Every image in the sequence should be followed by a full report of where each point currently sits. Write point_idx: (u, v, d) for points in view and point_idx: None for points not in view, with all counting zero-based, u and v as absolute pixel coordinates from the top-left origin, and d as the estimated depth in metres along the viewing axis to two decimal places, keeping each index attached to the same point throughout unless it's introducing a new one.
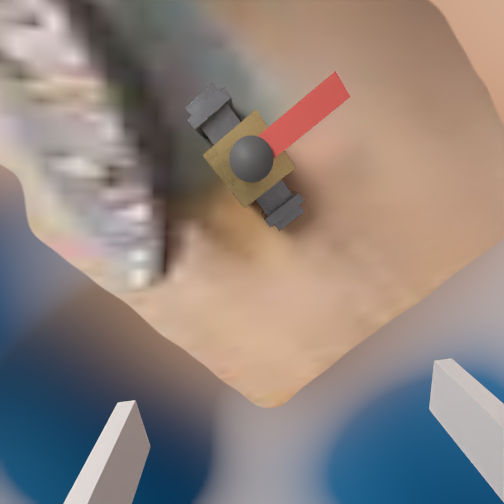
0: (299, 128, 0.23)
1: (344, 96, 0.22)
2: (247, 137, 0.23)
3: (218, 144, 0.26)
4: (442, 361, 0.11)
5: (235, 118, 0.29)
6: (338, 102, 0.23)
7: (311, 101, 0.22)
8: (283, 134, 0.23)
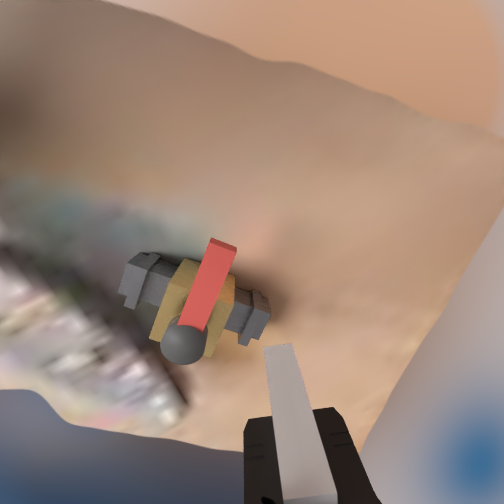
0: (207, 299, 0.23)
1: (231, 255, 0.21)
2: (168, 333, 0.23)
3: (156, 324, 0.27)
4: (283, 345, 0.13)
5: (163, 277, 0.30)
6: (228, 263, 0.22)
7: (204, 275, 0.22)
8: (197, 311, 0.23)
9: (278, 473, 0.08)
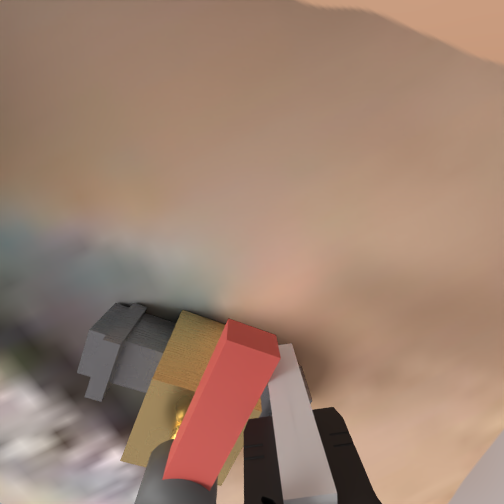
0: (221, 438, 0.12)
1: (270, 363, 0.11)
2: (145, 497, 0.12)
3: (131, 440, 0.16)
4: (283, 345, 0.13)
5: (147, 350, 0.19)
6: (264, 377, 0.11)
7: (215, 398, 0.11)
8: (201, 458, 0.12)
9: (278, 473, 0.08)
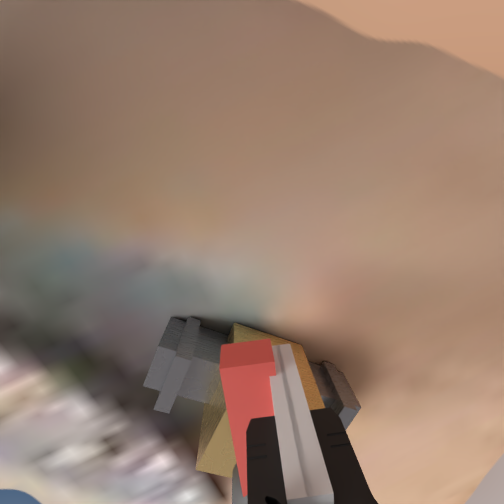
0: None
1: (268, 369, 0.11)
2: None
3: (208, 451, 0.17)
4: (281, 345, 0.13)
5: (211, 364, 0.20)
6: None
7: (242, 417, 0.12)
8: None
9: (281, 472, 0.08)
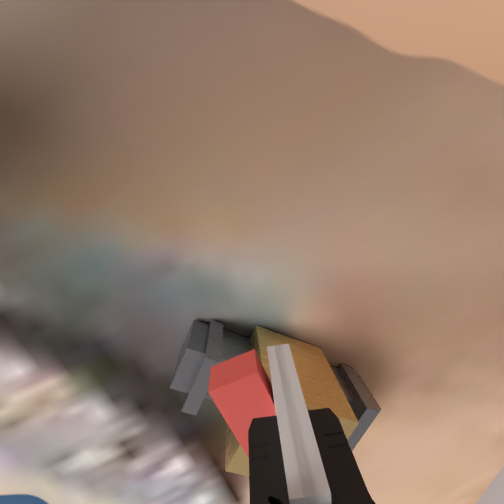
0: None
1: (254, 381, 0.12)
2: None
3: (239, 452, 0.18)
4: (280, 346, 0.13)
5: None
6: (261, 392, 0.12)
7: (246, 430, 0.12)
8: None
9: (283, 472, 0.08)
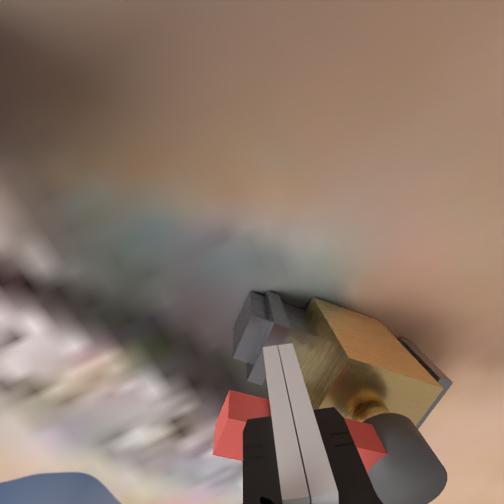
0: None
1: (234, 424, 0.12)
2: None
3: None
4: (284, 345, 0.13)
5: (302, 335, 0.20)
6: None
7: None
8: None
9: (277, 473, 0.08)
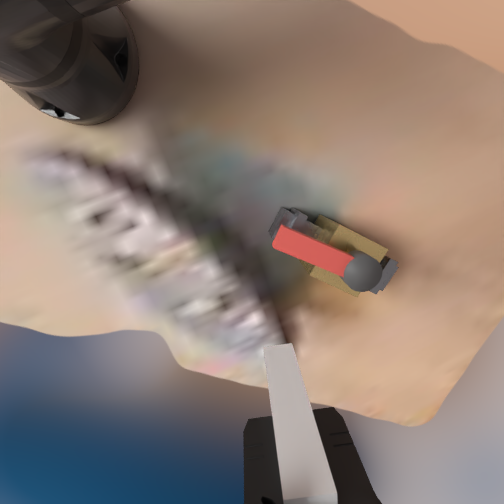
0: (323, 251, 0.27)
1: (285, 231, 0.26)
2: (349, 285, 0.28)
3: None
4: (283, 345, 0.13)
5: (313, 226, 0.34)
6: (292, 233, 0.26)
7: (301, 253, 0.27)
8: (333, 260, 0.27)
9: (278, 473, 0.08)
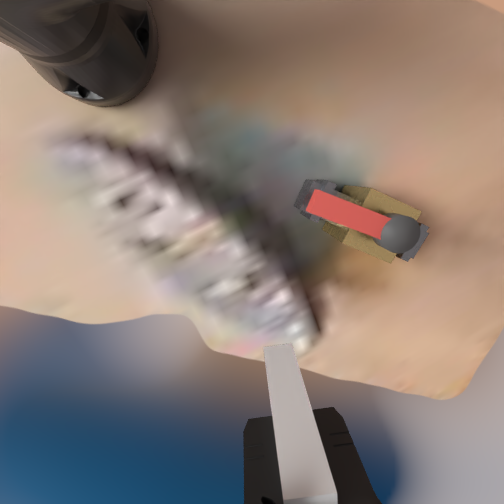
0: (359, 213, 0.26)
1: (321, 194, 0.26)
2: (386, 246, 0.27)
3: None
4: (283, 345, 0.13)
5: (341, 195, 0.33)
6: (328, 196, 0.26)
7: (337, 216, 0.26)
8: (370, 222, 0.27)
9: (278, 473, 0.08)
